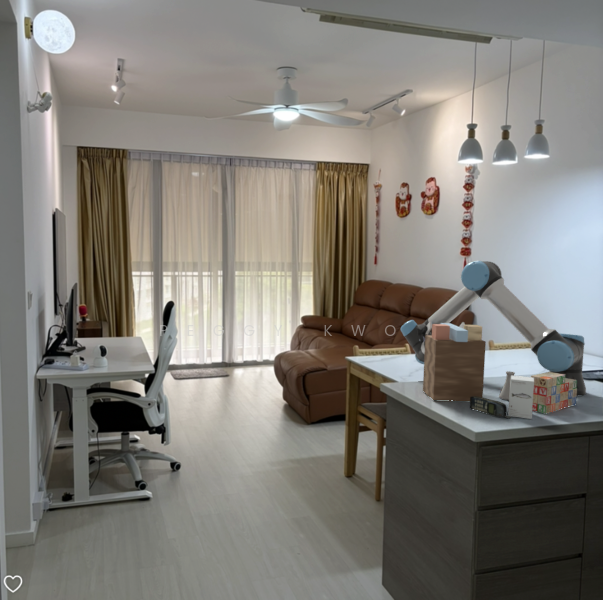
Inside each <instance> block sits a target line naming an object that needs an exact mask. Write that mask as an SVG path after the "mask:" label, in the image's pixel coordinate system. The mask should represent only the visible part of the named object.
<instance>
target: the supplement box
mask: <svg viewBox="0 0 603 600" xmlns="http://www.w3.org/2000/svg"><path fill="white" fill-rule="evenodd" d="M533 391H534V378H532V377H531V376H522V375H521V376H520V375H514V376H513V375H511V380H510V394H509V400H508V408H507V413H508V415H507V416H510V417H514V418H521V419H522V418H523V419H528V420H532V419H533V411H532V405H533Z"/></svg>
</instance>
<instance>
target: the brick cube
mask: <svg viewBox="0 0 603 600" xmlns="http://www.w3.org/2000/svg"><path fill="white" fill-rule="evenodd" d="M449 335H450V326H449V325H446V324H432V338H434V339H436V340H449Z"/></svg>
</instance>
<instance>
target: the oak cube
mask: <svg viewBox="0 0 603 600" xmlns="http://www.w3.org/2000/svg"><path fill="white" fill-rule="evenodd" d="M464 329H465V330H467V331H468V340H482V338H483V337H482V336H483V326H482V325H478V324H465V325H464Z"/></svg>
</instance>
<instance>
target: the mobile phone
mask: <svg viewBox="0 0 603 600" xmlns="http://www.w3.org/2000/svg"><path fill="white" fill-rule="evenodd" d="M470 408H471V409H470ZM469 409H470V410H472V409H474V410H473V411H475V410H478V411H477V412H479V411H481V412H480V413H482V412H484V413H483V414H486V413H487V414H486V415H489V416H492V417H496V418H497V417H499V418H501V417H502V418H506V419H511V418H512V416H508V415H507V413H508V407H507V405H506V403H503V402H501V401H498V400H494V399H490V398H486V397H477V396H472V397H470V402H469Z"/></svg>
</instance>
